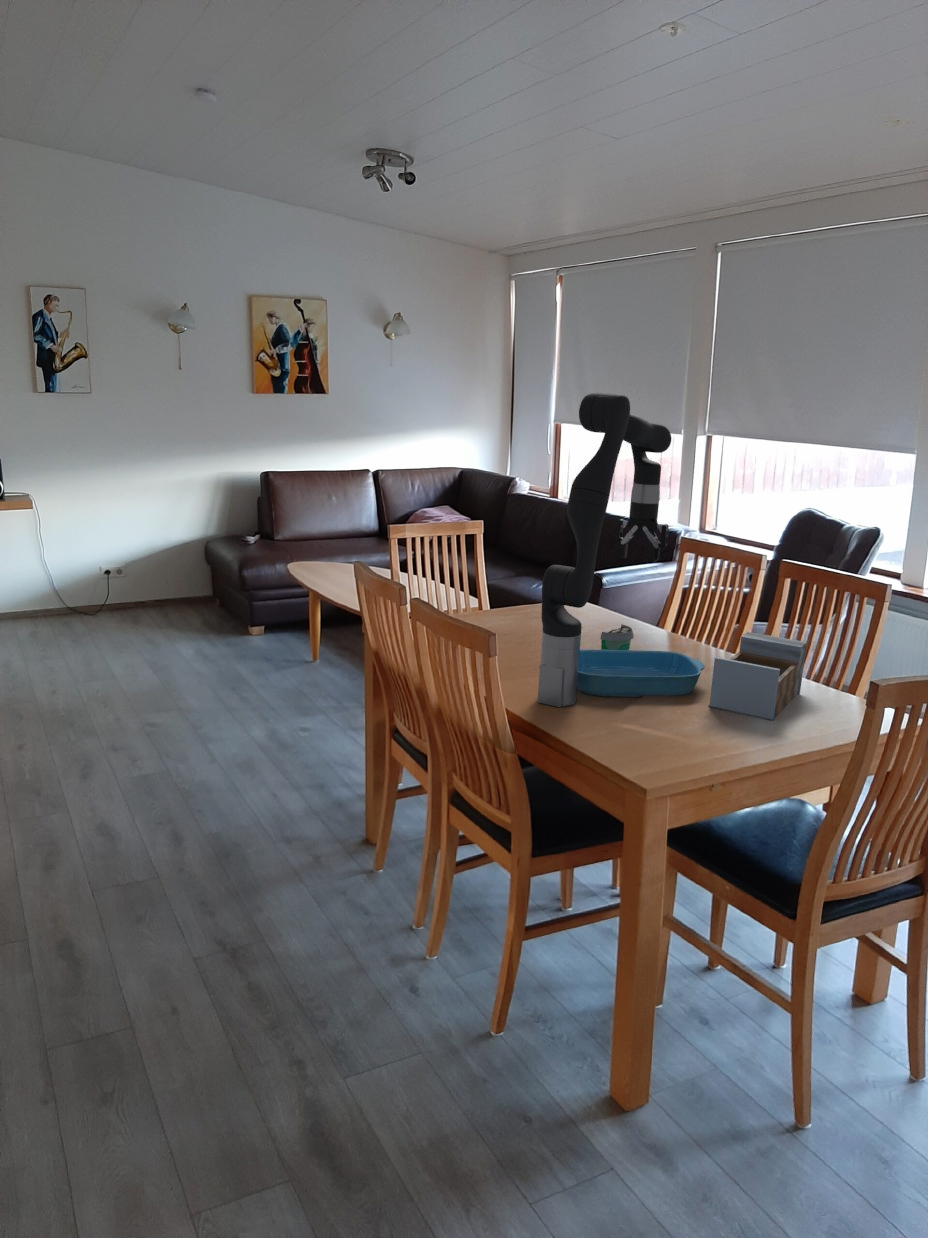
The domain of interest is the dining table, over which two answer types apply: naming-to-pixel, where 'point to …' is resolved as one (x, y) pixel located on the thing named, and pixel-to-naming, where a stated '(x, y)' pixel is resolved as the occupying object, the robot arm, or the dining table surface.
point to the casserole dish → (636, 673)
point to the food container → (617, 639)
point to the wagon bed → (776, 662)
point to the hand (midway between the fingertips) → (639, 559)
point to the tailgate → (744, 688)
